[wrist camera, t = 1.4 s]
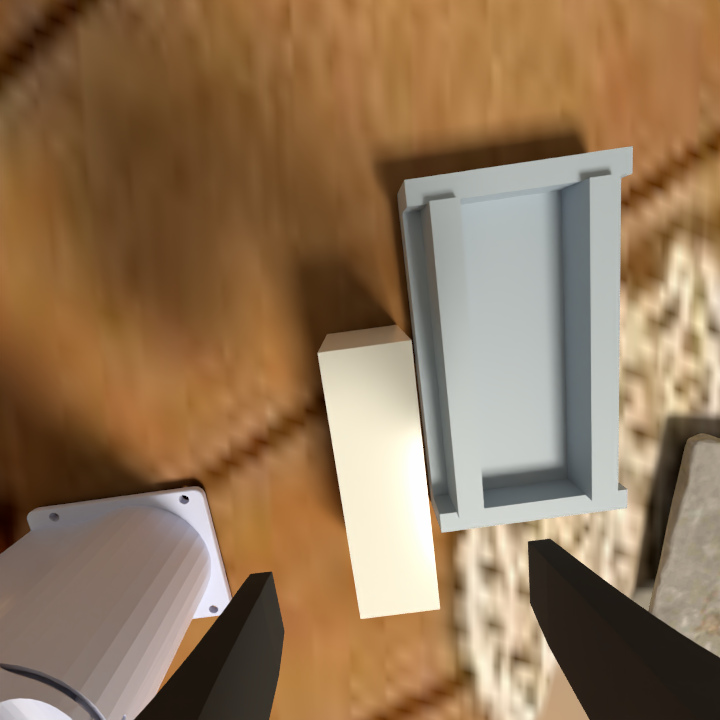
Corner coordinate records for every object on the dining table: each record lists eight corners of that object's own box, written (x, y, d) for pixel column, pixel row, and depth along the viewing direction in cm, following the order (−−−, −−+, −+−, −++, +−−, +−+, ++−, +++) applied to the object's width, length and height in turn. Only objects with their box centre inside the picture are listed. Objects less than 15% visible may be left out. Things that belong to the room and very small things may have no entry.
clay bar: (420, 532, 21) (440, 609, 16) (359, 540, 21) (360, 618, 16) (396, 324, 18) (411, 340, 14) (327, 333, 19) (317, 352, 14)
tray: (431, 502, 20) (444, 539, 17) (396, 194, 17) (405, 176, 14) (594, 480, 20) (634, 514, 17) (592, 165, 17) (642, 141, 14)
